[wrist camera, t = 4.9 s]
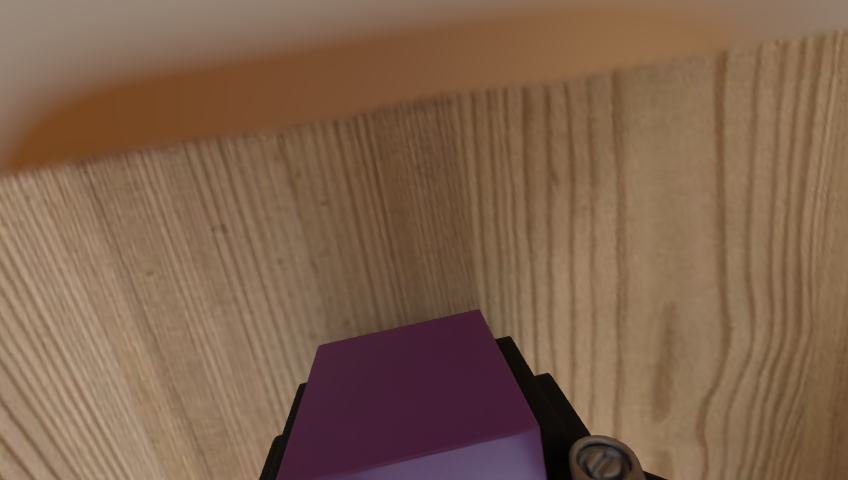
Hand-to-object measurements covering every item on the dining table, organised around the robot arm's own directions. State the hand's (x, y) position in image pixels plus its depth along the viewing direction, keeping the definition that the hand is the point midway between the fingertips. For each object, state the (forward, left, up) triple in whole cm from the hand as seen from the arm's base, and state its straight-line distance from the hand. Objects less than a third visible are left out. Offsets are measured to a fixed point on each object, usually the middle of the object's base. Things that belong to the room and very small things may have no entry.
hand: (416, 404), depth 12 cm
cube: (0, 0, 0) cm, 0 cm away
